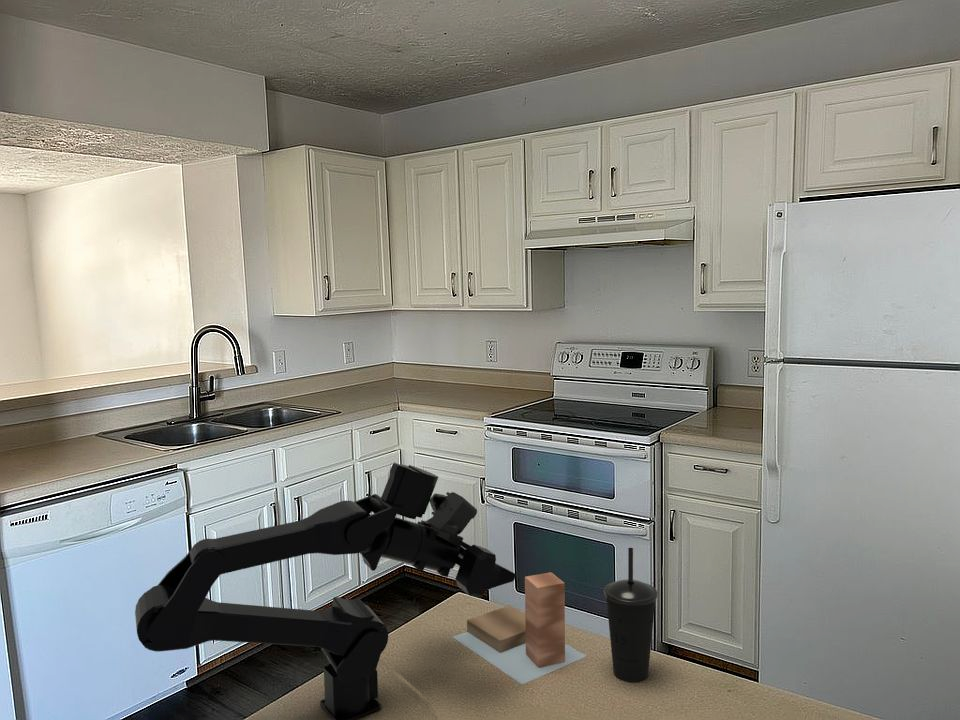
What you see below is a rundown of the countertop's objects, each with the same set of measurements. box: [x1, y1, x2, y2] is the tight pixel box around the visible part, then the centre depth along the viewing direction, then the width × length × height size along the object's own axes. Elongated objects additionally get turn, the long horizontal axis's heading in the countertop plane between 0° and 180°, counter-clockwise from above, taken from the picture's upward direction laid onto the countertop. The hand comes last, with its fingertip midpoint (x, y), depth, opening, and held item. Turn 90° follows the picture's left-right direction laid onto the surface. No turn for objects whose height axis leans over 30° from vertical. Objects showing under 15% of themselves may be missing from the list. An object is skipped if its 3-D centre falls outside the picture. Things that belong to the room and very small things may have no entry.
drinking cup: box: [603, 547, 658, 684], centre depth 105 cm, size 8×8×20 cm
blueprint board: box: [452, 631, 588, 685], centre depth 115 cm, size 13×18×1 cm
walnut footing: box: [466, 605, 526, 653], centre depth 119 cm, size 9×9×2 cm
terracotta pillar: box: [524, 571, 566, 668], centre depth 110 cm, size 4×4×12 cm
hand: (499, 567), depth 110 cm, fingers open, 9 cm apart
